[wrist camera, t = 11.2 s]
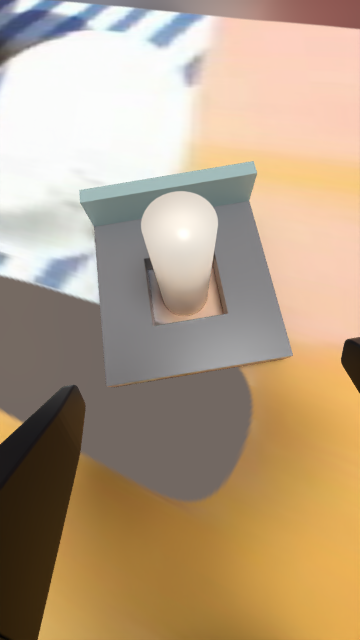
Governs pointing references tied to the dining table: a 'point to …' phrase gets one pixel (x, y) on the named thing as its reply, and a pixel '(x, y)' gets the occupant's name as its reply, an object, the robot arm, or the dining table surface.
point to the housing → (230, 270)
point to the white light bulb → (181, 248)
